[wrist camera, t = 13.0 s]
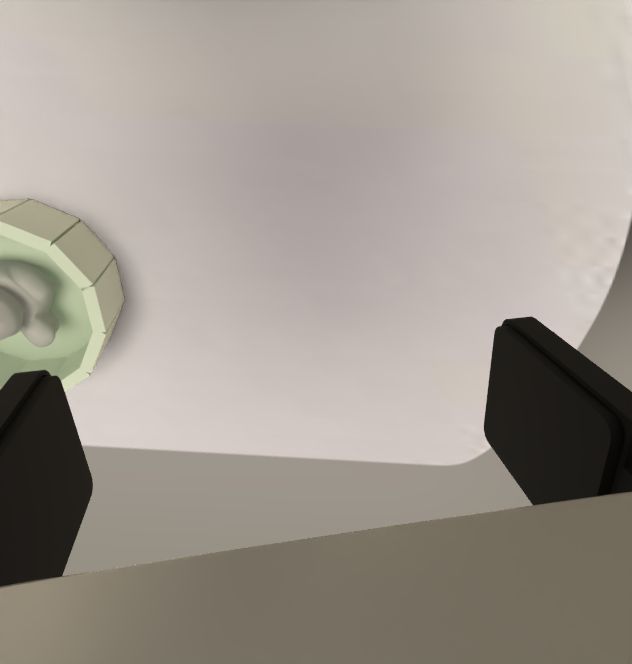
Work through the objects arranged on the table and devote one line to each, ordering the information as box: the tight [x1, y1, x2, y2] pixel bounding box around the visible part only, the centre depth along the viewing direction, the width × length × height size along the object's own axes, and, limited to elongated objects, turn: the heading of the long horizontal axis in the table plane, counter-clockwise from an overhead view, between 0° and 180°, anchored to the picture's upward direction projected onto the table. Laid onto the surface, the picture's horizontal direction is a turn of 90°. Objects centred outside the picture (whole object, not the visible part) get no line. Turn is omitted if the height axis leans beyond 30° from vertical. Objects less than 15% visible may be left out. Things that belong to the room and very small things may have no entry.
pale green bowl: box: [0, 199, 124, 392], centre depth 34 cm, size 13×13×6 cm
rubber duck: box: [0, 260, 59, 347], centre depth 33 cm, size 5×7×8 cm
